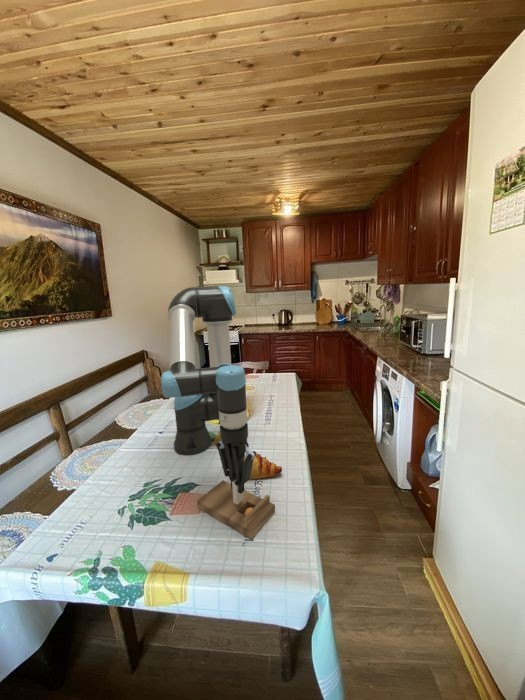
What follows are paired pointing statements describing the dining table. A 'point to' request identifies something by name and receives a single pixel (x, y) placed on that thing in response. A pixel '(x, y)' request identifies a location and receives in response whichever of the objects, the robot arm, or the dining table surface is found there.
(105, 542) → the dining table surface
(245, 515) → the ball
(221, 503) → the wooden tray with slot
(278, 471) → the croissant
